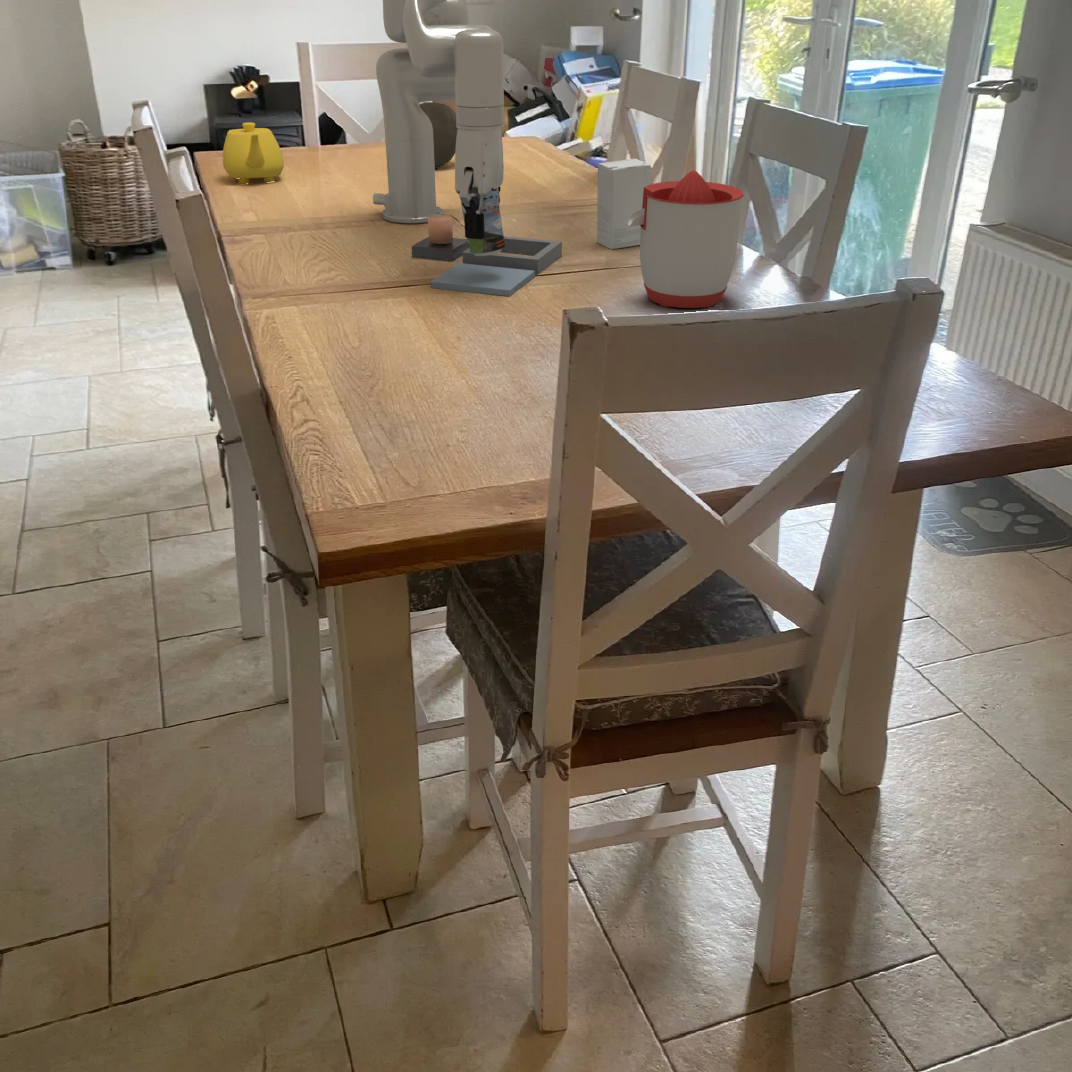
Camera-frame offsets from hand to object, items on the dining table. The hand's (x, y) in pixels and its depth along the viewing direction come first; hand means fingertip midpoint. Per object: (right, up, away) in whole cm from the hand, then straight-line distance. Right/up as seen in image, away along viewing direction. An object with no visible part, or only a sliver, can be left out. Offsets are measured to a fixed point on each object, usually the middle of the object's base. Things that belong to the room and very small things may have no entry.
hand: (482, 232), depth 176 cm
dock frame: (+5, -1, +16) cm, 16 cm away
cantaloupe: (-17, +42, +91) cm, 101 cm away
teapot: (-57, +33, +75) cm, 100 cm away
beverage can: (0, -3, +2) cm, 4 cm away
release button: (-8, +4, +18) cm, 21 cm away
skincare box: (+25, +5, +26) cm, 36 cm away
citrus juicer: (+32, -12, -4) cm, 34 cm away
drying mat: (0, -7, +4) cm, 8 cm away
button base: (-8, +2, +20) cm, 21 cm away
